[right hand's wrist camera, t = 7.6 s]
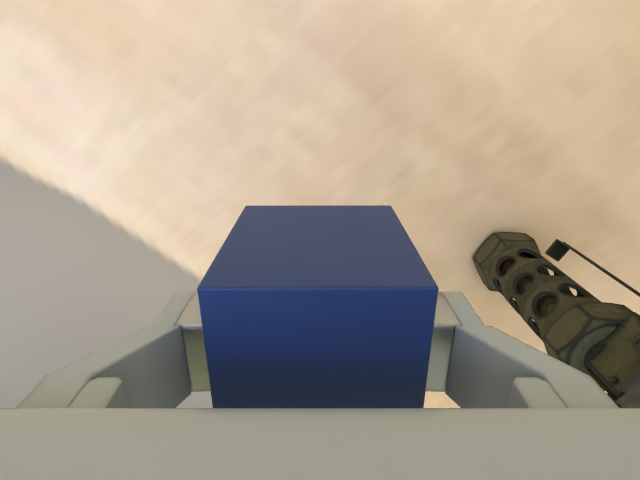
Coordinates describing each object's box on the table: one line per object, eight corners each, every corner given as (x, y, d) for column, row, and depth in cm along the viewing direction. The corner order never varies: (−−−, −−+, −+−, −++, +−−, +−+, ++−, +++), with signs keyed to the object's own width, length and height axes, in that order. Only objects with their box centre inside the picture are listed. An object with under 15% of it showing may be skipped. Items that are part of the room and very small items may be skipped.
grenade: (508, 308, 33) (644, 471, 19) (454, 276, 32) (559, 425, 18) (585, 225, 31) (808, 345, 17) (529, 187, 29) (720, 282, 15)
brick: (245, 205, 11) (195, 287, 7) (391, 205, 11) (439, 287, 7) (255, 341, 13) (221, 478, 9) (381, 340, 13) (414, 477, 9)
